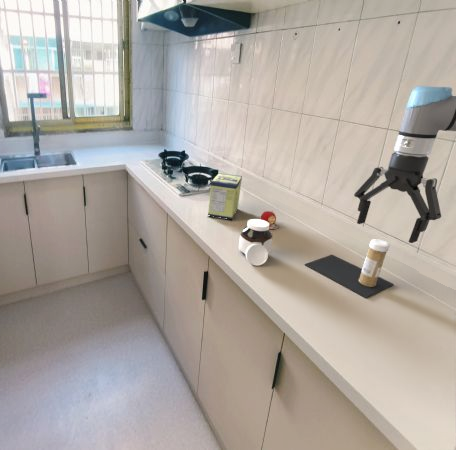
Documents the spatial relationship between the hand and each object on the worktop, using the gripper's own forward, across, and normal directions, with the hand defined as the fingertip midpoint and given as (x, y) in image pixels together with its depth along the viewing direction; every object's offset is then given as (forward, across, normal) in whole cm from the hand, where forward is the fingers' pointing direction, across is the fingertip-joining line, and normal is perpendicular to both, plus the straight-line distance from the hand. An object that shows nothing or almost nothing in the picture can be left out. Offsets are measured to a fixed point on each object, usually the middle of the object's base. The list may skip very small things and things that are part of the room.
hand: (385, 231), depth 92 cm
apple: (+17, -44, +6) cm, 48 cm away
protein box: (+17, -63, -1) cm, 66 cm away
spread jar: (+17, -27, -18) cm, 37 cm away
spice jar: (+17, 0, 0) cm, 17 cm away
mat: (+17, -6, 0) cm, 18 cm away
